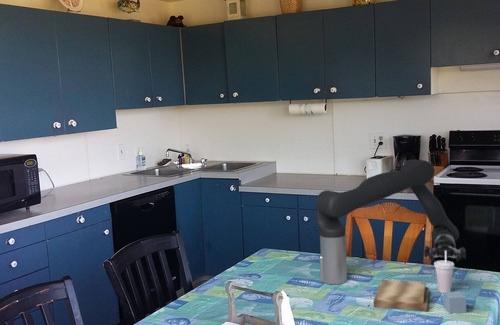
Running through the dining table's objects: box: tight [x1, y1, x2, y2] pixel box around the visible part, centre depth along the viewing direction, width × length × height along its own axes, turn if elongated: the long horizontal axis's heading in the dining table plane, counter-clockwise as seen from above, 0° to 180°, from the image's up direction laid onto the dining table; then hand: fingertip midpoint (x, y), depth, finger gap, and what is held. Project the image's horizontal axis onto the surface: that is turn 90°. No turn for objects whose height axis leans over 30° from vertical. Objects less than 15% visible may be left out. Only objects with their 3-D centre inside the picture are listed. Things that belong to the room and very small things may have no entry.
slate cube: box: [442, 290, 467, 315], centre depth 160 cm, size 5×5×5 cm
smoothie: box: [433, 250, 455, 294], centre depth 175 cm, size 6×6×14 cm
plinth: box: [373, 279, 430, 313], centre depth 170 cm, size 16×16×4 cm
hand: (444, 258), depth 185 cm, fingers open, 8 cm apart
